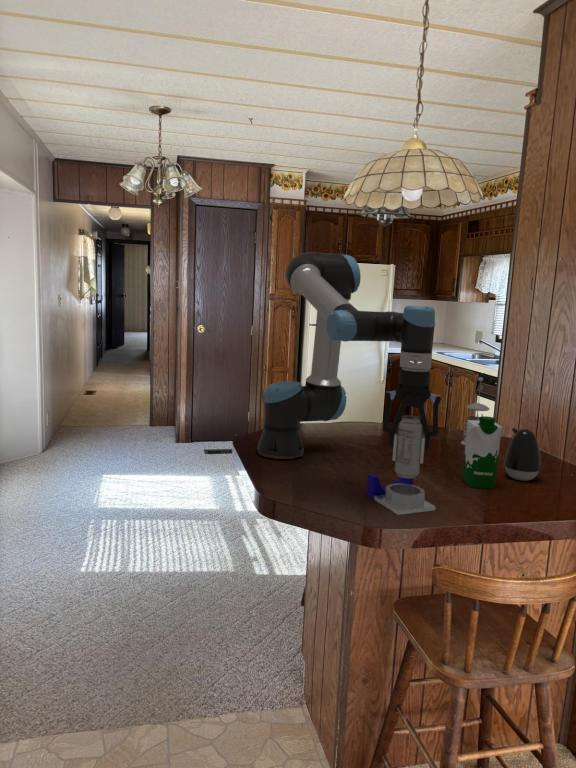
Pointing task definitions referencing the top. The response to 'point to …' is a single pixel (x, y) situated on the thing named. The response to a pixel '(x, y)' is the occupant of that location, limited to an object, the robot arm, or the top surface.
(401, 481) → the blue u-shaped piece
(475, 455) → the milk carton
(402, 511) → the plate
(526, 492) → the top surface
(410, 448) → the energy drink can
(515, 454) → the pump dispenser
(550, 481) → the top surface
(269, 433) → the robot arm
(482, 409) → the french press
